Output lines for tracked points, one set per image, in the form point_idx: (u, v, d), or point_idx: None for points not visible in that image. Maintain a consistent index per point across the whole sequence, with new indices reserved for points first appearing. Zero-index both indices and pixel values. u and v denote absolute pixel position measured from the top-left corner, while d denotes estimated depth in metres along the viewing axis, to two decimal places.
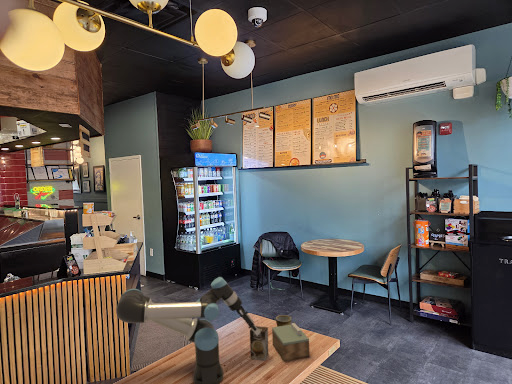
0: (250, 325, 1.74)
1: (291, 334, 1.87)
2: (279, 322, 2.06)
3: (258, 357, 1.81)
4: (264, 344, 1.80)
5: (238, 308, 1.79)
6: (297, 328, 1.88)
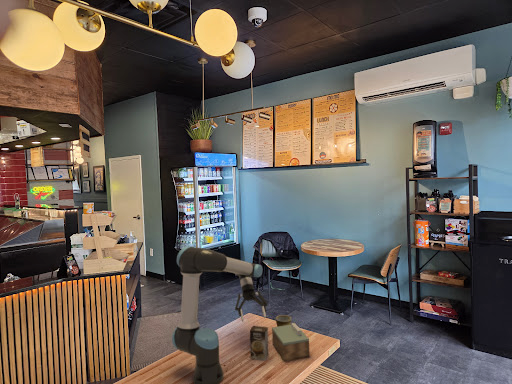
0: None
1: (291, 334, 1.87)
2: (279, 322, 2.06)
3: (258, 357, 1.81)
4: (264, 344, 1.80)
5: None
6: (297, 328, 1.88)
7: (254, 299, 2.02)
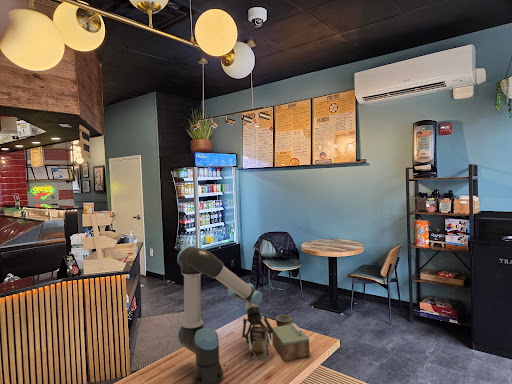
0: None
1: (291, 334, 1.87)
2: (279, 322, 2.06)
3: (258, 356, 1.81)
4: (264, 344, 1.80)
5: None
6: (297, 328, 1.88)
7: (259, 324, 1.90)
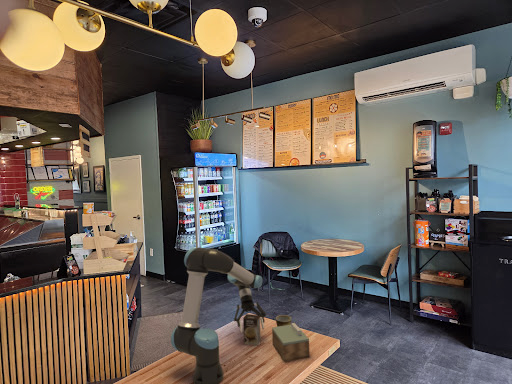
0: None
1: (291, 334, 1.87)
2: (279, 322, 2.06)
3: (251, 342, 1.98)
4: (256, 330, 1.96)
5: None
6: (297, 328, 1.88)
7: (253, 310, 2.07)
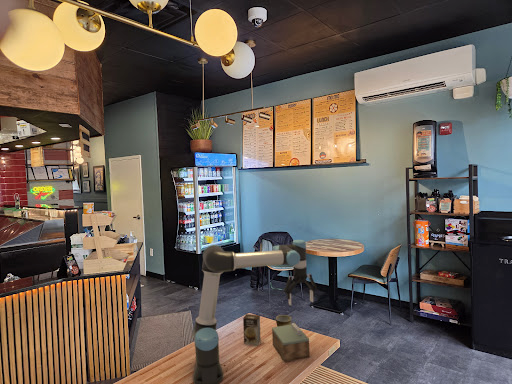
0: None
1: (291, 334, 1.87)
2: (279, 322, 2.06)
3: (251, 342, 1.98)
4: (256, 330, 1.96)
5: None
6: (297, 328, 1.88)
7: (304, 281, 1.92)
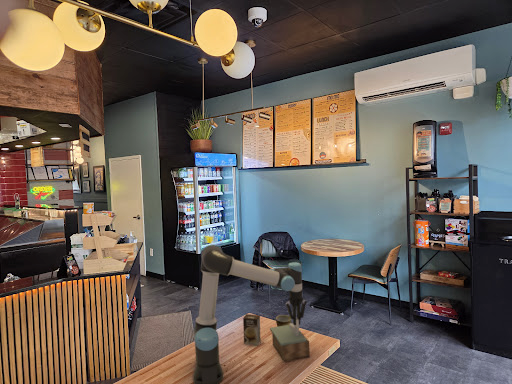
0: None
1: (289, 334, 1.87)
2: (279, 322, 2.06)
3: (251, 342, 1.98)
4: (256, 330, 1.96)
5: None
6: (295, 328, 1.87)
7: (297, 305, 1.90)
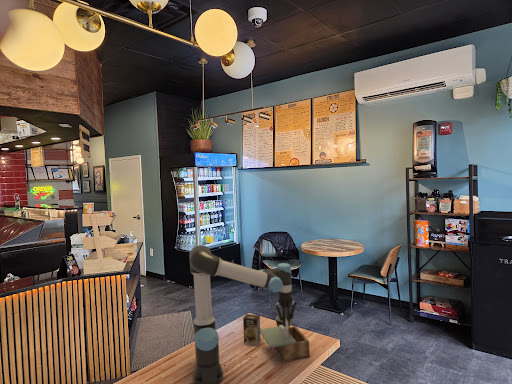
0: None
1: (278, 336, 1.85)
2: (279, 322, 2.06)
3: (251, 342, 1.98)
4: (256, 330, 1.96)
5: None
6: (284, 330, 1.86)
7: (286, 307, 1.88)
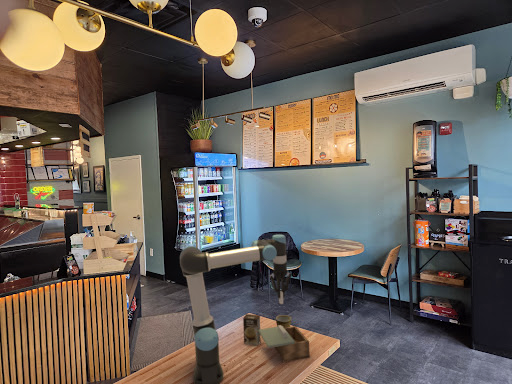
0: None
1: (277, 336, 1.85)
2: (279, 322, 2.06)
3: (251, 342, 1.98)
4: (256, 330, 1.96)
5: None
6: (283, 330, 1.85)
7: (281, 278, 1.87)
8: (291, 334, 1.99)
